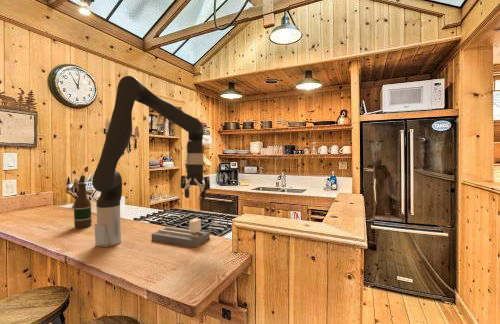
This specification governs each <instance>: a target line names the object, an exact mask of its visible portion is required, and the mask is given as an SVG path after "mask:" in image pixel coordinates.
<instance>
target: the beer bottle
mask: <svg viewBox="0 0 500 324" xmlns="http://www.w3.org/2000/svg"><path fill="white" fill-rule="evenodd" d="M77 186H78V191H77V198H76V200H75V202H74V203H73V217H74V219H73V223H74V225H73V226H74V229H77V230H78V229H82V230H83V229H86V228H90V227H91V226H92V202H91V201H90V199H89V198H88V196H87V189H86V188H87V187H86V186H87V183H85V182H80V183H77Z"/></svg>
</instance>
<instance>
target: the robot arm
mask: <svg viewBox="0 0 500 324" xmlns="http://www.w3.org/2000/svg"><path fill="white" fill-rule="evenodd" d="M136 102H137V103H139V104H142V105H144V106H147V107H148V108H150V109H151V110H153V111H155V112H156V113H157V114H159V115H160V116H162V117H163V118H165V120H168V121H170V123H172V124H174V125H176V126H178V127H180V128H181V129H183V130H184V131H186V132H187V133H188V134H187V135H188V137H187V138H188V140H187V143H186V162H185V163H186V174H187V175H186V174H184V175H181V176H180V189H183V190H184V191H183V192H184V197H185V199H189V198H190V187H192V186H197V187H198V188H199V189H200V190H201V191H200V192H201V193H200V194H201V195H200V199H201V200H205V199H206V198H207V191H209V190H210V189H211V181H210V175H206V176H204V154H203V151H204V149H203V148H204V146H203V141H204V140H203V138H204V125H203V123H202V122H201V121H200V120H199V119H197V118H195V117H194V116H192V115H190V114H188V113H186V111H184V110H182V109H181V108H179V107H178V106H176V105H175V104H173V103H171V102H169V101H167V100H165V99H163V98H161V97H159V96H158V95H156V94H155V93H153V92H152V91H151V90H150V89H148V87H146V86H145V85H144V84H143V83H142V81H140V80H139V79H137V78H136V77H134V76H132V75H124V76H123V77H122V78H120V80H119V81H118V84H117V89H116V95H115V102H114V107H113V111H112V113H111V117H110V121H109V123H108V124H109V125H108V128H107V132H106V134H105V135H106V136H105V140H104V144H103V147H102V151H101V154H100V157H99V161H98V162H97V165H96V168H95V171H94V173H93V175H92V180H91V182H92V184H91V185H92V186H93V188H94V190H95V191H97V192H99V193H100V196H99V197H98V199H96V206H95V207H96V223H95V224H94V244H95V247H101V248H107V247H112V246H116V245H118V244H120V243H121V242H122V228H121V227H122V226H121V200H122V198H123V197H122V196H123V178H122V174H121V173H120V172H119V171H117V170H116V168H117V166H118V163H119V161H120V159H121V157H122V156H123V154H124V153H125V151H126V150H127V148H128V146H129V144H130V140H131V136H132V134H133V117H132V116H133V115H132V114H133V107H134V105H135V103H136ZM203 181H204V182H203Z"/></svg>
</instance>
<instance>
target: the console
mask: <svg viewBox="0 0 500 324" xmlns="http://www.w3.org/2000/svg"><path fill="white" fill-rule="evenodd" d="M210 234H211V232H210V231H202V230H199V231H198V235H195V234H192V232H189V229H188V228H181V227H174V226H164V228H162V229H160V228H159V229H158V231H155V232H153V233H151V241H154V240H155V241H156V242H159V241H160V242H161V243H165V242H166V244H171V243H172V244H173V245H178V246H184V247H189V248H194V249H196V248H197V247H199V246H200V245H202V244H204V243H205V242H207V241H208V240H210V238H211V237H210V236H211V235H210ZM155 241H154V242H155Z"/></svg>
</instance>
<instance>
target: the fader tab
mask: <svg viewBox="0 0 500 324" xmlns="http://www.w3.org/2000/svg"><path fill="white" fill-rule="evenodd" d="M188 224H189V225H188V227H189V232H192V234H195V235H198V231H202V219H201V218H193V219H190V220H189V221H188Z"/></svg>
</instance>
